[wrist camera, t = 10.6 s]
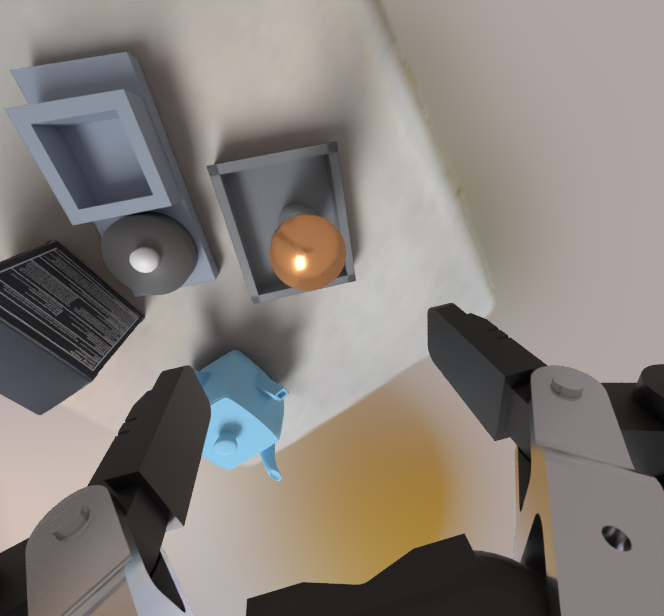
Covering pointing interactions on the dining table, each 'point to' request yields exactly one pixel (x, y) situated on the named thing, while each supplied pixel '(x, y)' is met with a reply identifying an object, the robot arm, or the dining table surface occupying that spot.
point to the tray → (278, 208)
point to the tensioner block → (114, 169)
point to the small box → (56, 326)
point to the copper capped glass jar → (306, 249)
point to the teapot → (242, 412)
